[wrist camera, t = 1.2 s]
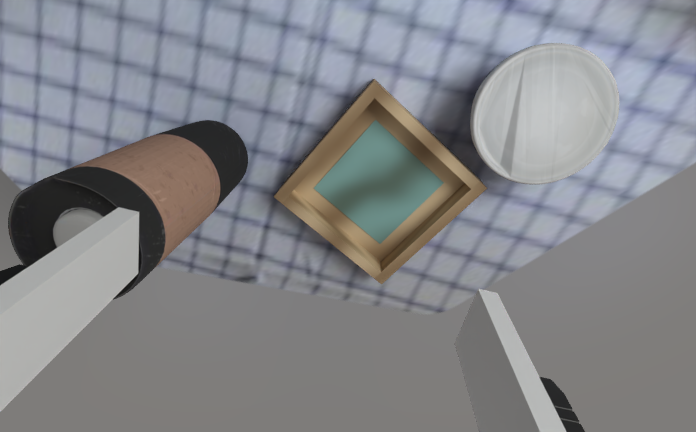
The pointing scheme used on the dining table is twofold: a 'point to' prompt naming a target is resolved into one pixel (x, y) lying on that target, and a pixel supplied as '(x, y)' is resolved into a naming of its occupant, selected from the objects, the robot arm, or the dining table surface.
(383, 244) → the tray
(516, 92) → the ramekin
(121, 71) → the dining table surface
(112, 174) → the travel mug
